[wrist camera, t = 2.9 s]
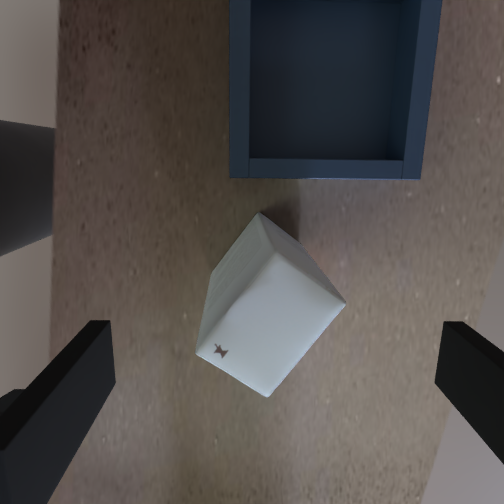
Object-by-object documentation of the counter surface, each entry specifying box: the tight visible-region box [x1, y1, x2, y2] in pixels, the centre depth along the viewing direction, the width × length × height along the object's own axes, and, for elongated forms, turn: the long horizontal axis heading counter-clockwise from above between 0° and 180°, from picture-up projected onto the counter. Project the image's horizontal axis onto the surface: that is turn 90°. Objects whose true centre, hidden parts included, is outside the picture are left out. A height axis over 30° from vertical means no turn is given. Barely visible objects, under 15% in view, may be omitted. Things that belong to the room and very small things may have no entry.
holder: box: [229, 0, 442, 180], centre depth 23 cm, size 12×12×4 cm
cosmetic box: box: [195, 212, 346, 397], centre depth 22 cm, size 6×4×12 cm
